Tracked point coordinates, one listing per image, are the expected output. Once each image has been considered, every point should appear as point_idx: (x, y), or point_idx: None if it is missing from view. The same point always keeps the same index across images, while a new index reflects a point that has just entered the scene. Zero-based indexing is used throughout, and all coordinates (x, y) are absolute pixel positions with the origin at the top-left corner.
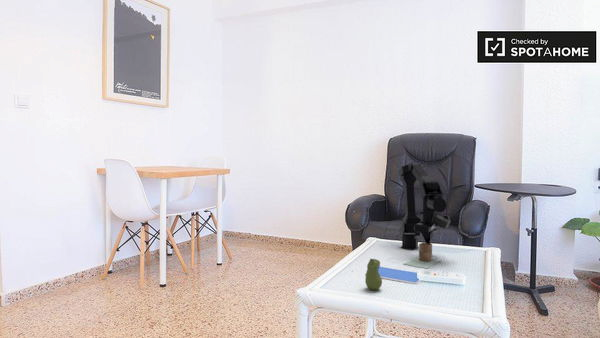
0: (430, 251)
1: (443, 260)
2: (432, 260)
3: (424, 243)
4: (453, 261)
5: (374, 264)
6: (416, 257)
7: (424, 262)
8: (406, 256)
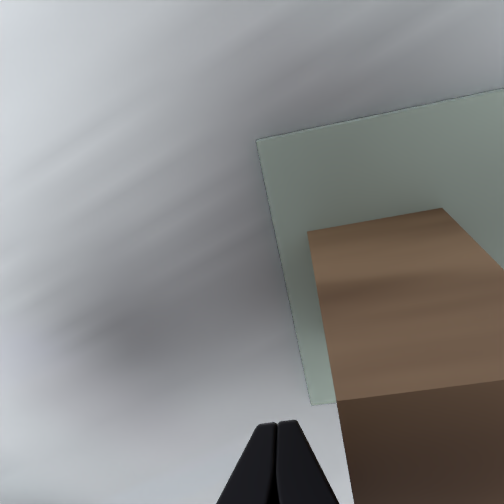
0: (398, 290)
1: (146, 142)
2: (311, 219)
3: (435, 500)
4: (60, 4)
5: None
6: (329, 399)
7: (496, 230)
8: (339, 475)
